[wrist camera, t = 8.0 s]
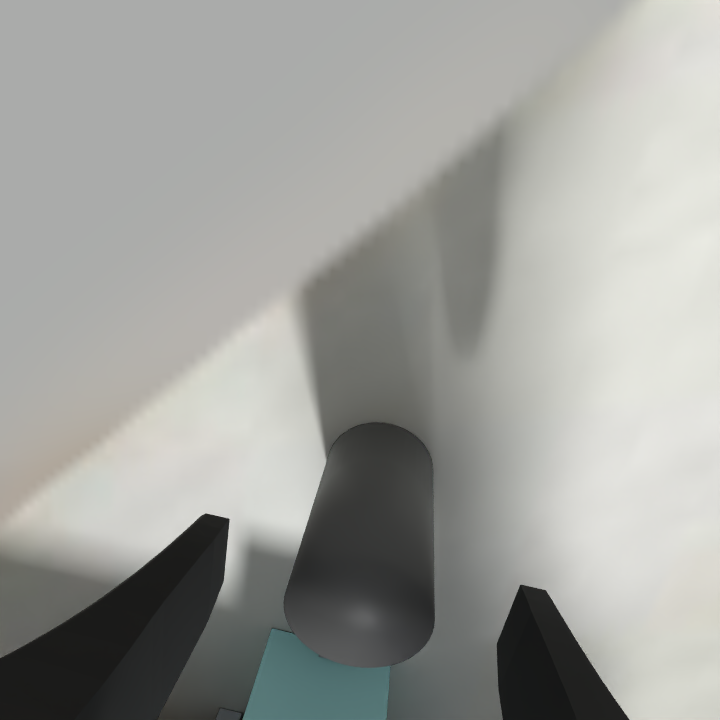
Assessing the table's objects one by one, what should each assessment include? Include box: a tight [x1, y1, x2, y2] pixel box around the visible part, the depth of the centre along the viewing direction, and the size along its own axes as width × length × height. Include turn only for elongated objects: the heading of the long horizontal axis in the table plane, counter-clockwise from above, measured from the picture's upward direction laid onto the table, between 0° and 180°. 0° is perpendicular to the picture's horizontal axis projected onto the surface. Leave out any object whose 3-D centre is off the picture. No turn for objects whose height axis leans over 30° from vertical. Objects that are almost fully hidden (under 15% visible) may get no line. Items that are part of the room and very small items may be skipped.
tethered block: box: [243, 423, 435, 720], centre depth 18 cm, size 5×16×6 cm, turn 168°
